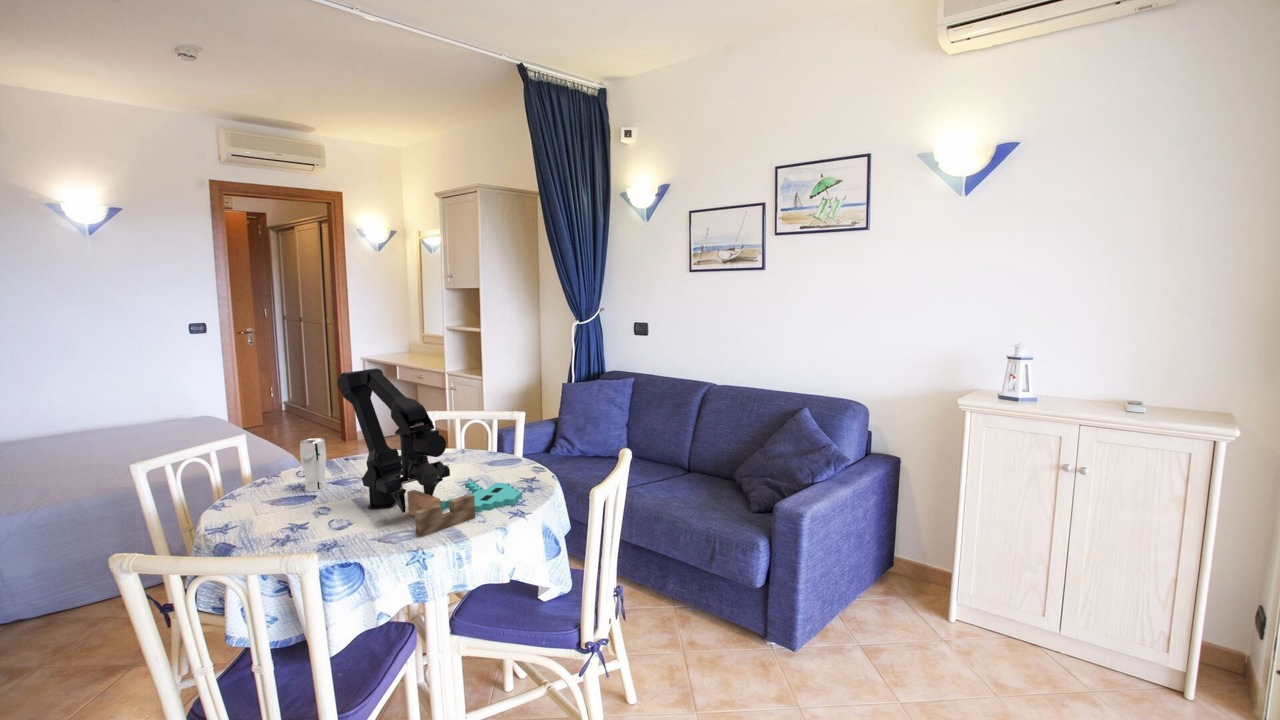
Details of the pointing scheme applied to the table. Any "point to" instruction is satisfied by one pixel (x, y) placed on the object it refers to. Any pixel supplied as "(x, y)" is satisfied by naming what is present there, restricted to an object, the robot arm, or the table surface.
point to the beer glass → (314, 463)
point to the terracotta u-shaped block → (420, 501)
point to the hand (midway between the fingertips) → (416, 508)
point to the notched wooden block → (444, 515)
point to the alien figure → (490, 496)
